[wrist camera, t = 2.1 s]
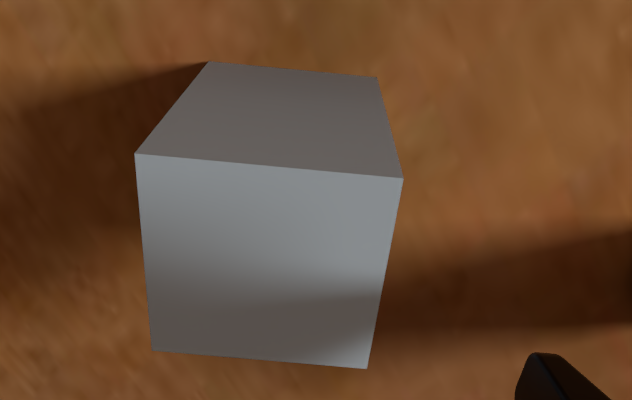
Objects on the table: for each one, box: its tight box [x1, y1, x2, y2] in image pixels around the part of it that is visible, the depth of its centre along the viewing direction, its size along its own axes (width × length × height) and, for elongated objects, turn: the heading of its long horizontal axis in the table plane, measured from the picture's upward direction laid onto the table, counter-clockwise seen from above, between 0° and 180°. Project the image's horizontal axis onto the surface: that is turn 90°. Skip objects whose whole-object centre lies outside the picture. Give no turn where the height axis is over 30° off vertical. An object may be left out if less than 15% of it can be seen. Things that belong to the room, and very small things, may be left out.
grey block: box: [134, 61, 404, 369], centre depth 12 cm, size 4×4×6 cm
